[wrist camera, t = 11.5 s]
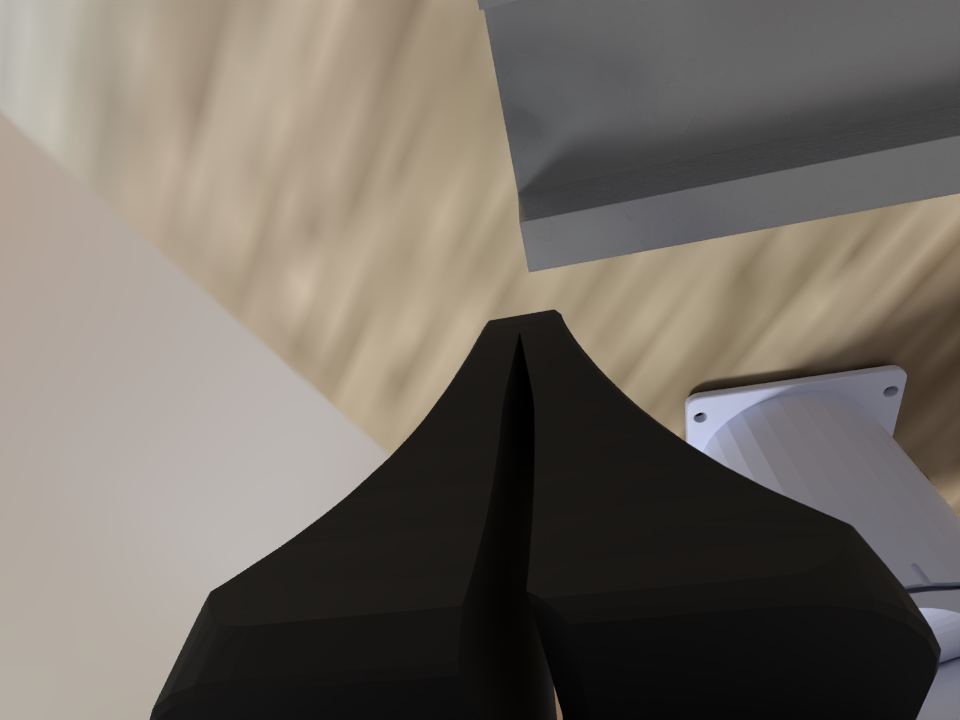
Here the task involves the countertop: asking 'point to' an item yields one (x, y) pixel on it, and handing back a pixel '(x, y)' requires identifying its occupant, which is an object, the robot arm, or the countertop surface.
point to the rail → (719, 115)
